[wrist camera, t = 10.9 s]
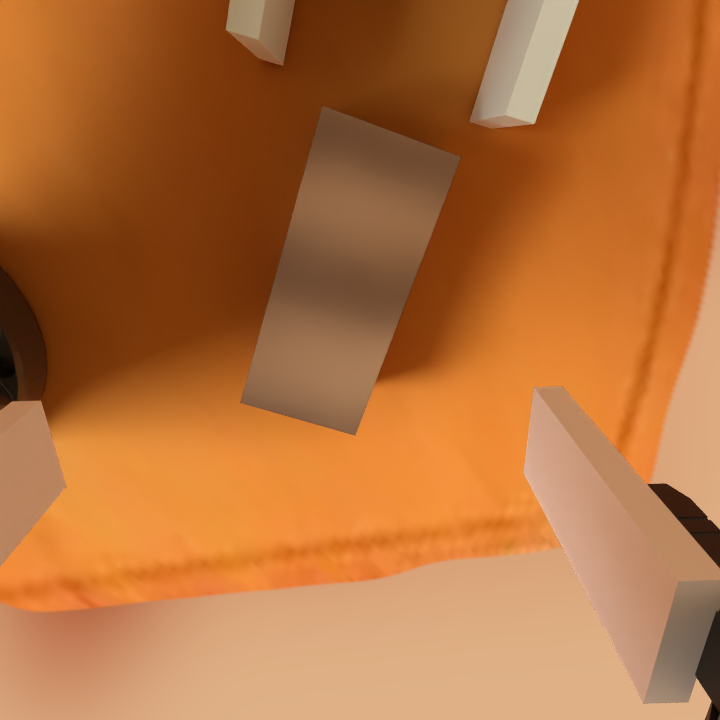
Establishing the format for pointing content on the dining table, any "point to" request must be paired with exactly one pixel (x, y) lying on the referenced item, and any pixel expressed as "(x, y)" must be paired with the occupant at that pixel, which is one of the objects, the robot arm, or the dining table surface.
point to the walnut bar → (346, 269)
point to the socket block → (504, 69)
